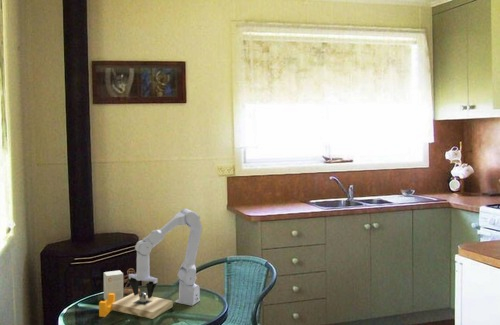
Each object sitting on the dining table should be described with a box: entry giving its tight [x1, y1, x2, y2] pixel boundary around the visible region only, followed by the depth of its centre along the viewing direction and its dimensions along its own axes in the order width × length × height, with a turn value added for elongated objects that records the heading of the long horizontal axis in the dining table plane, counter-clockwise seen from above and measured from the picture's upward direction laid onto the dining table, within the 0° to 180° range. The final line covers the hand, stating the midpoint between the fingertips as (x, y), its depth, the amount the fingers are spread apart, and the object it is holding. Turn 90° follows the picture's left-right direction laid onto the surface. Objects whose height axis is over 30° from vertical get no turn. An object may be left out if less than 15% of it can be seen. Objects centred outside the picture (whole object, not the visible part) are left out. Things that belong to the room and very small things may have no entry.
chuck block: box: [111, 293, 174, 320], centre depth 233 cm, size 22×16×3 cm
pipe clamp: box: [98, 293, 116, 318], centre depth 229 cm, size 12×4×6 cm, turn 174°
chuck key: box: [138, 290, 148, 304], centre depth 233 cm, size 3×6×7 cm, turn 161°
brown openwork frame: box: [123, 268, 141, 295], centre depth 254 cm, size 9×4×12 cm, turn 104°
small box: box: [103, 269, 124, 302], centre depth 243 cm, size 8×6×13 cm
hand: (142, 296), depth 233 cm, fingers open, 7 cm apart
